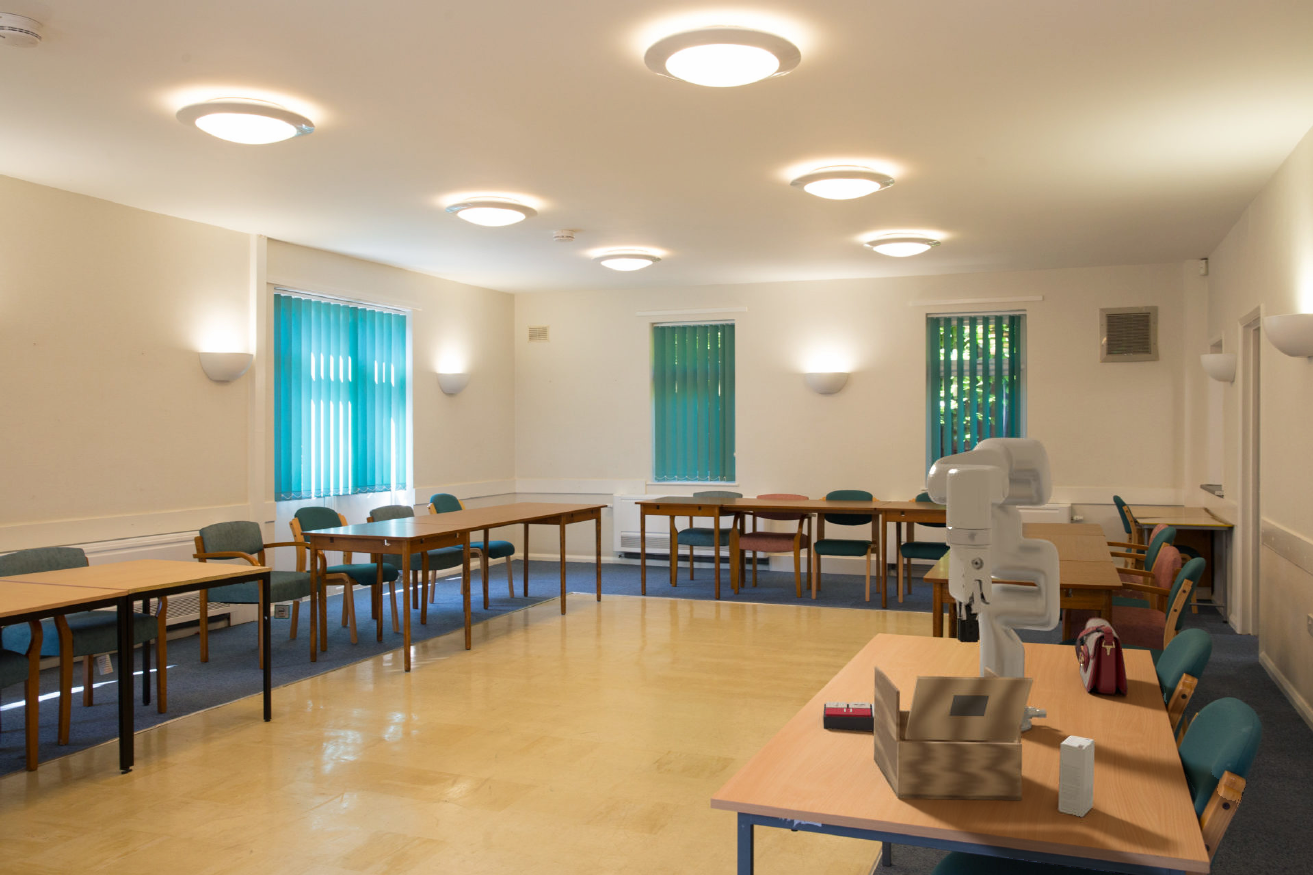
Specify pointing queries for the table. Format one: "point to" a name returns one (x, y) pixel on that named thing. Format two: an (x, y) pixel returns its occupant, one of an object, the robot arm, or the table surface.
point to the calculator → (849, 716)
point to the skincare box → (1076, 775)
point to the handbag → (1101, 658)
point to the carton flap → (967, 708)
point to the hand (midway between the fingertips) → (967, 641)
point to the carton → (941, 757)
